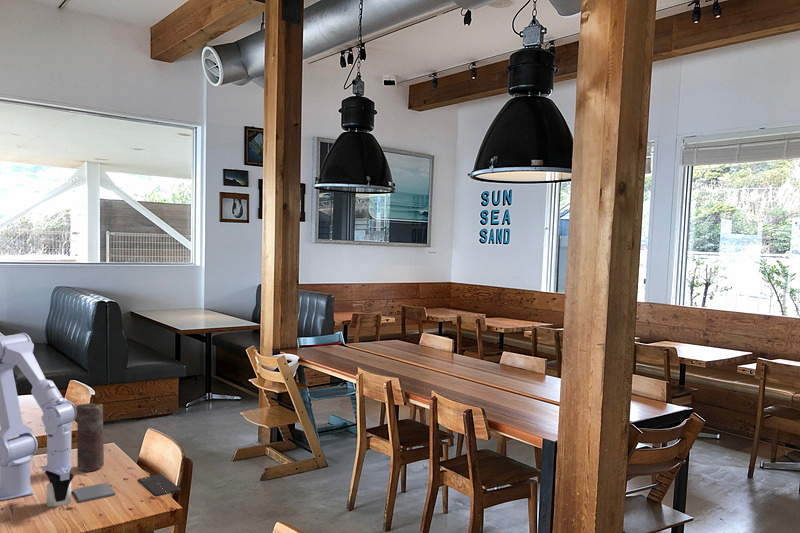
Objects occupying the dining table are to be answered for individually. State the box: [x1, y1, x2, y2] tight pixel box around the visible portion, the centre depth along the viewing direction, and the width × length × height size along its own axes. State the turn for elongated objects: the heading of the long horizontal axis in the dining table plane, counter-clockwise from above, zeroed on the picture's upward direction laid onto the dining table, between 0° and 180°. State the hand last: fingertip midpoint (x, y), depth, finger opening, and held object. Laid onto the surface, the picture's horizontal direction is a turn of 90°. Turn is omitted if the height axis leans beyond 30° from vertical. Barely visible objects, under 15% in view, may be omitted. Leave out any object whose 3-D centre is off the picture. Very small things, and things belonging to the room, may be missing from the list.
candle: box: [76, 403, 105, 473], centre depth 193 cm, size 8×7×20 cm
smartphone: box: [137, 473, 181, 497], centre depth 182 cm, size 7×1×15 cm
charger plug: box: [46, 481, 72, 508], centre depth 168 cm, size 3×6×7 cm, turn 128°
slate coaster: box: [72, 482, 116, 503], centre depth 175 cm, size 9×9×1 cm
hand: (59, 498), depth 168 cm, fingers closed on charger plug, 3 cm apart
